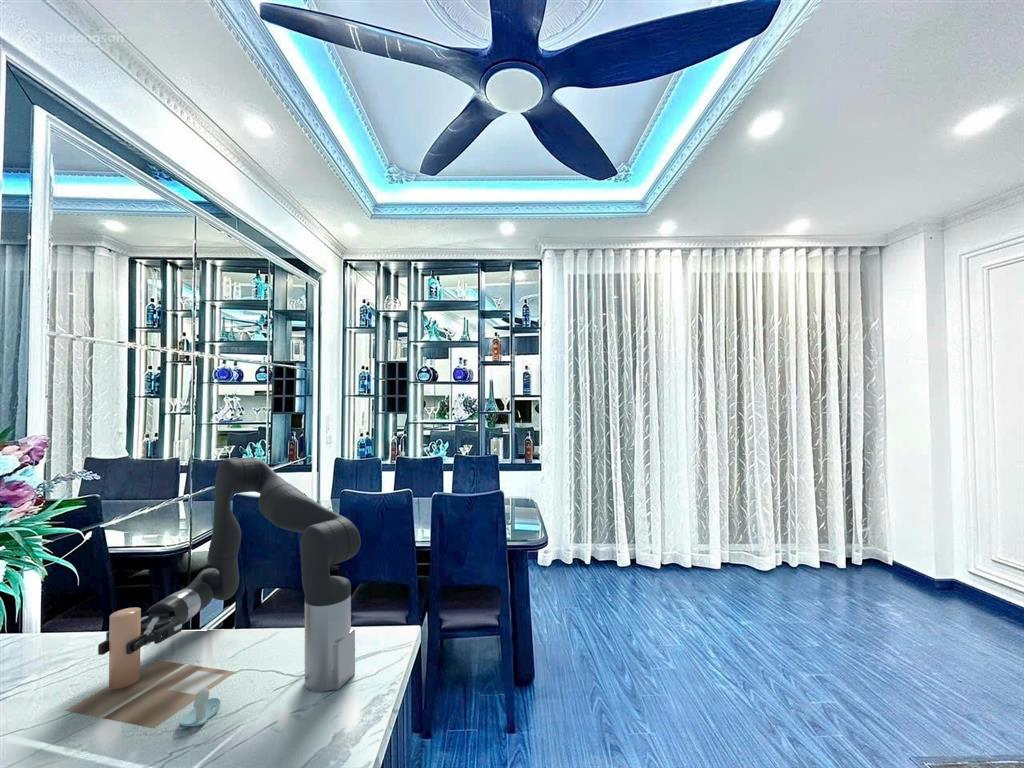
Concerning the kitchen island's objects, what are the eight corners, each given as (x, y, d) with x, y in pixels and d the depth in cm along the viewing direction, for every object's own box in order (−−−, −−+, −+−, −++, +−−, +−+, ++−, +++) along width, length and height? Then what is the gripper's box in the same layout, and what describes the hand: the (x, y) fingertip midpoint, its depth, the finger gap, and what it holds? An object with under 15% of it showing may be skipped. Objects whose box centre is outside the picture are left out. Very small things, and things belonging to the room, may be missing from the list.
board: (235, 674, 101) (235, 671, 102) (153, 731, 84) (154, 728, 84) (156, 662, 107) (156, 659, 107) (64, 713, 89) (64, 710, 89)
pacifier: (164, 736, 83) (195, 737, 83) (163, 701, 83) (194, 701, 83) (196, 709, 90) (225, 710, 90) (195, 676, 91) (224, 677, 90)
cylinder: (146, 676, 98) (146, 608, 99) (120, 690, 93) (121, 619, 94) (128, 672, 99) (128, 606, 100) (102, 686, 95) (103, 616, 95)
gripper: (143, 596, 111) (78, 632, 94) (204, 594, 111) (150, 630, 94) (143, 628, 111) (77, 669, 94) (204, 626, 111) (149, 668, 94)
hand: (114, 649), depth 94 cm, fingers closed on cylinder, 5 cm apart
